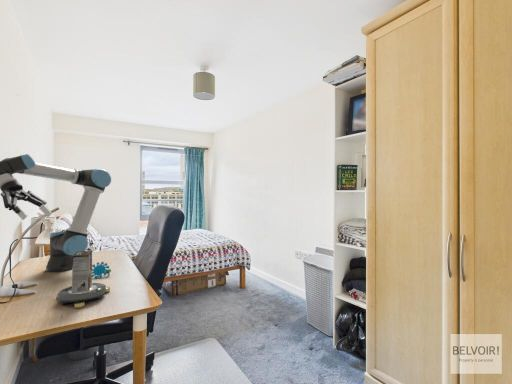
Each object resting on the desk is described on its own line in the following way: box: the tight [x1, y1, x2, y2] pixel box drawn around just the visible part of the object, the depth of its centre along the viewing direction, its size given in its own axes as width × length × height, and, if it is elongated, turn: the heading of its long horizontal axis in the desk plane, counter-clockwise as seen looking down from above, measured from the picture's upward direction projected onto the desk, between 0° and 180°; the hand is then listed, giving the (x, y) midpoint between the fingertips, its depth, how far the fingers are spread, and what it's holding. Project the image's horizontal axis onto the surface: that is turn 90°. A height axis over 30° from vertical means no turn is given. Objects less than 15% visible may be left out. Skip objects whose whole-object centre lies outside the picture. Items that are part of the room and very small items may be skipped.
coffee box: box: [71, 250, 93, 293], centre depth 119 cm, size 9×6×16 cm
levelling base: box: [55, 282, 111, 310], centre depth 119 cm, size 21×21×5 cm
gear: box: [92, 261, 112, 279], centre depth 152 cm, size 11×6×10 cm
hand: (38, 216), depth 129 cm, fingers open, 13 cm apart
